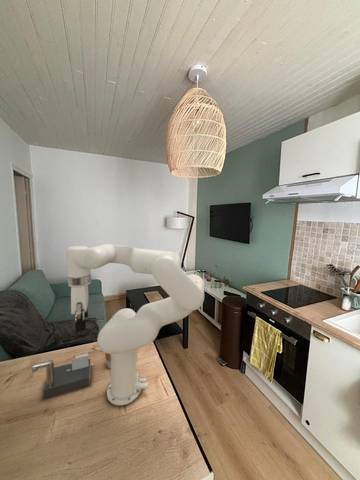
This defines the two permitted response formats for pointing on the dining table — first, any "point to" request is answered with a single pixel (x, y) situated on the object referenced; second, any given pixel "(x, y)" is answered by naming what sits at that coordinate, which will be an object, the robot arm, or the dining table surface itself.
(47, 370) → the spout
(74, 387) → the base
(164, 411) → the dining table surface
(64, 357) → the dining table surface
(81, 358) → the tap handle
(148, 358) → the dining table surface
